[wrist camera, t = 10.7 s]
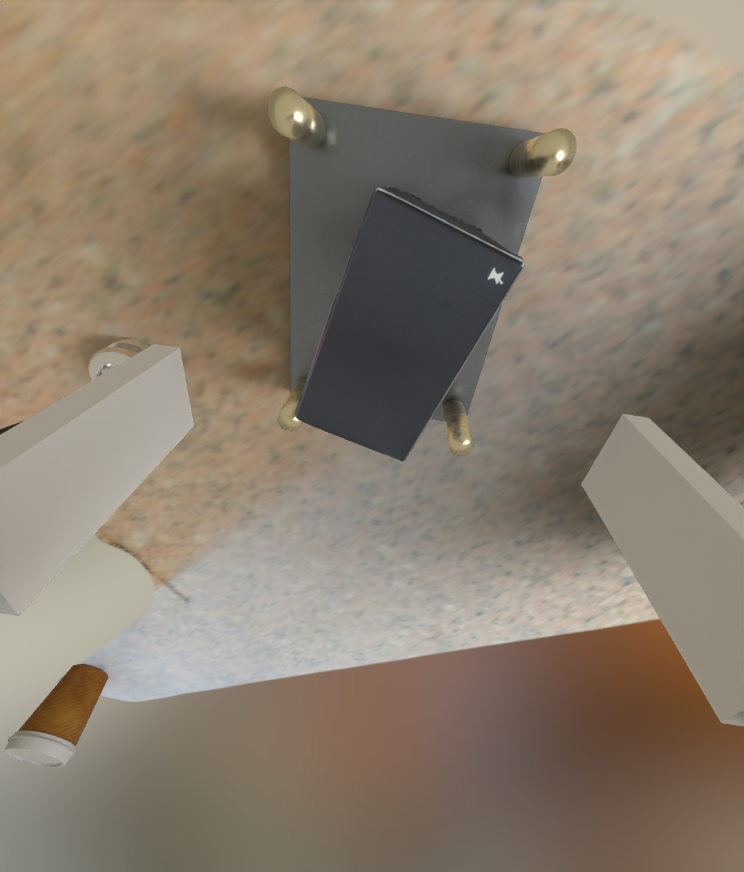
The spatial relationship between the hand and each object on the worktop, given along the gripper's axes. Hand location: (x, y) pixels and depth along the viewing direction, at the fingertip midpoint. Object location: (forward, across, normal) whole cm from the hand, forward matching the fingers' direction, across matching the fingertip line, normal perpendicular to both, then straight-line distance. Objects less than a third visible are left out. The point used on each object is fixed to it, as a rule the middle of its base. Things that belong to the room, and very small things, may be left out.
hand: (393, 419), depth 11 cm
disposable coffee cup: (+17, +44, +72) cm, 86 cm away
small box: (+16, 0, 0) cm, 16 cm away
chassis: (+17, 0, 0) cm, 17 cm away
